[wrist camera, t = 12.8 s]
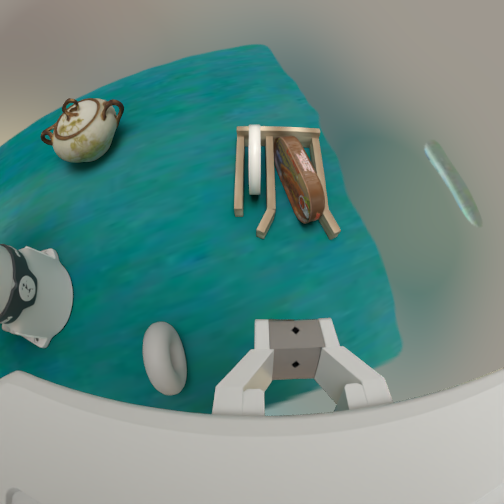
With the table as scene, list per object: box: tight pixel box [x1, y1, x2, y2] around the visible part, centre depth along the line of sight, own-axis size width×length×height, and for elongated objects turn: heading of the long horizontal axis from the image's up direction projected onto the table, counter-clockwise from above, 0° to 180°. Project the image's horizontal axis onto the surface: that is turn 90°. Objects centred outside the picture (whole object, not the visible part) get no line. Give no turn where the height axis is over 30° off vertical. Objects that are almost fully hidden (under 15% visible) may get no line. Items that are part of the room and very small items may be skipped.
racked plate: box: [249, 125, 261, 195], centre depth 41 cm, size 2×11×11 cm, turn 0°
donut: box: [143, 322, 187, 395], centre depth 33 cm, size 10×3×10 cm, turn 11°
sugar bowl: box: [41, 98, 124, 163], centre depth 43 cm, size 20×15×15 cm
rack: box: [234, 126, 341, 240], centre depth 44 cm, size 16×19×4 cm
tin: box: [273, 136, 325, 224], centre depth 42 cm, size 15×3×8 cm, turn 17°
